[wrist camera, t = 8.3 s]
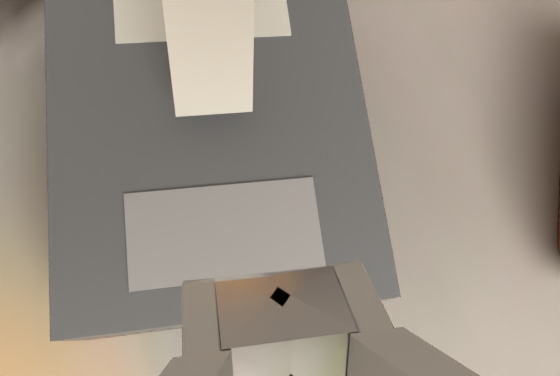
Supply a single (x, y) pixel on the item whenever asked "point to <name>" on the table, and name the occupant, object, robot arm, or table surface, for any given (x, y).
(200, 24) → the breaker lever
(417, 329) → the table surface
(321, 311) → the robot arm
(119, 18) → the switch box
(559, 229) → the tin
